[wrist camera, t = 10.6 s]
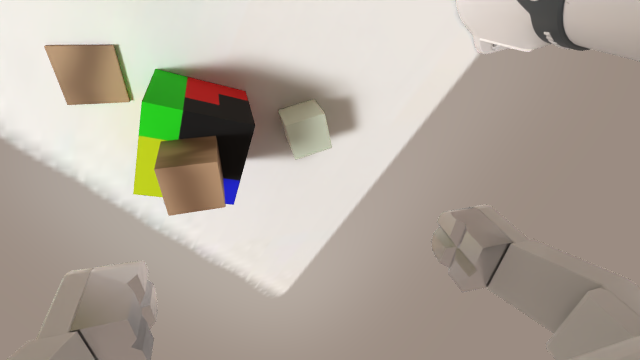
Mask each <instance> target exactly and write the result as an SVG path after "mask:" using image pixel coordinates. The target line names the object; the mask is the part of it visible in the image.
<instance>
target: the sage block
mask: <svg viewBox="0 0 640 360" xmlns="http://www.w3.org/2000/svg"><path fill="white" fill-rule="evenodd" d="M278 111H279V115H280V118H281V121H282V124H283V128H284V131H285V134H286V137H287V141H288V143H289V146H290V148H291V150H292V153H293V155H294V157H295V160H297V159H300V158H303V157H306V156H309V155H312V154H315V153H318V152H321V151H324V150H327V149H330V148H332V145H331V140H330V136H329V131H328V126H327V121H326V117H325V113H324V112H323V110H322V109H321V107H320V106H319V105H318V103H317V102H316V101H315V99H312V100H309V101H305V102H302V103H299V104H296V105H293V106H290V107H286V108H283V109H280V110H278Z"/></svg>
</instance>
